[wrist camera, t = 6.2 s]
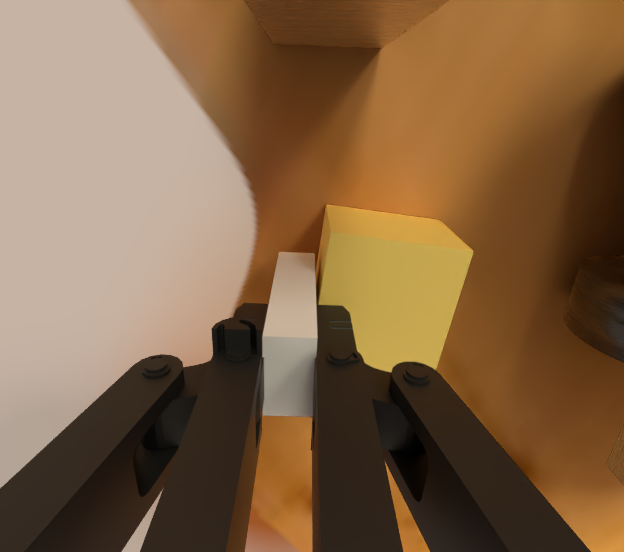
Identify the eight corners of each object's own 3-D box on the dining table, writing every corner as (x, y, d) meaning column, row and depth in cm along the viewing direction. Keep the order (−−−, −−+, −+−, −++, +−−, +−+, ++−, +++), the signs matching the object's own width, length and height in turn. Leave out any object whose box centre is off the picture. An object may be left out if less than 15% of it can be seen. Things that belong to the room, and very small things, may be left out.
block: (326, 204, 17) (330, 232, 14) (439, 219, 18) (473, 251, 14) (307, 324, 20) (306, 376, 16) (407, 336, 20) (429, 390, 16)
